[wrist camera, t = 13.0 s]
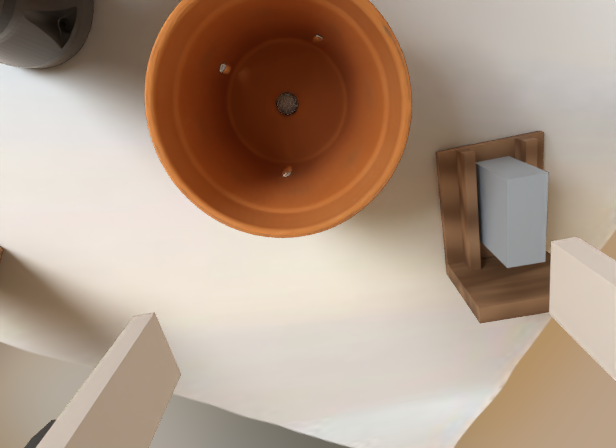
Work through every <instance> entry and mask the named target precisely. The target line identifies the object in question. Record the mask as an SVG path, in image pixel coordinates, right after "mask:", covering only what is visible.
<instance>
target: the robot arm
mask: <svg viewBox="0 0 616 448" xmlns="http://www.w3.org/2000/svg"><path fill="white" fill-rule="evenodd" d="M92 17H93V0H0V63H3V64H6V65H10V66H15V67H21V68H48V67H53V66H56V65H59V64H61V63H63V62H65V61H67V60H68V59H70V58H71V57H72V56H74V55H75V54H76V53H77V52H78V51H79V49H80V48H81V47H82V45H83V44H84V42H85V40H86V38H87V36H88V33H89V31H90V27H91V23H92ZM549 314H550V315H551V316H552V317H553V318H554V319H555V320H556V321H557V322H558V324H559V325H560V326H562V327H563V329H564V330H565V331H566V332H567V333H568V334H569V335H571V337H572V338H573V339H574V340H575V341H576V342H577V343H578V344H579V345H580V346H581V347H582V348H583V349H584V350H585V351H586V352H587V353H588V354H589V355H590V356H591V357H592V358H593V359H594V360H595V361H596V362H597V363H598V364H599V365H600V366H601V367H602V368H603V369H604V370H605V371H606V372H607V373H608V374H609V375H610V376H611V377H612V378H613V379H614V380H615V381H616V260H614V259H612V258H611V257H609V256H607V255H606V254H604V253H603V252H601V251H599V250H598V249H596V248H594V247H593V246H591V245H590V244H588V243H586V242H585V241H583V240H581V239H580V238H578V237H572V238H566V239H561V240H555V241H551V262H550V300H549ZM180 376H181V373H180V370H179V368H178V366H177V363H176V361H175V359H174V356H173V354H172V352H171V349H170V347H169V345H168V342H167V340H166V338H165V336H164V333H163V331H162V329H161V326H160V324H159V322H158V319H157V317H156V315H155V312H154V313H149V314H143V315H137V316H133V318H132V319H131V320H130V322H129V323H128V324H127V326H126V327H125V328H124V330H123V331H122V332H121V334H120V335H119V336H118V338H117V339H116V341H115V342H114V343H113V345H112V346H111V347H110V349H109V350H108V351H107V353H106V354H105V355H104V357H103V358H102V359H101V361H100V362H99V363H98V365H97V366H96V367H95V369H94V370H93V371H92V373H91V374H90V375H89V377H88V378H87V380H86V381H85V382H84V384H83V385H82V386H81V388H80V389H79V391H78V392H77V393H76V394H75V396H74V397H73V398H72V400H71V401H70V402H69V404H68V405H67V406H66V408H65V409H64V411H63V412H62V413H61V414H60V416H59V417H58V418H57V419H56V420H51V422H49V423H48V424H47V425H46V426H45V427H44V428H43V429H42V430H40V431H39V432H38V433H37V434H36V435H35V436H34V437H33V438H32V439H31V440H30V441H29V443H28V444H27V445H26V446H25V448H149V446H150V444H151V441H152V439H153V437H154V434H155V432H156V430H157V428H158V425H159V423H160V421H161V419H162V416H163V414H164V412H165V410H166V407H167V405H168V403H169V400H170V398H171V396H172V394H173V391H174V389H175V387H176V385H177V382H178V380H179V378H180Z"/></svg>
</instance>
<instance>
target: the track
mask: <svg viewBox="0 0 616 448" xmlns="http://www.w3.org/2000/svg"><path fill="white" fill-rule="evenodd" d="M543 147H544V132H542V131H535V132H531V133H526V134H521V135H516V136H511V137H506V138H501V139H496V140H492V141H487V142H482V143H477V144H472V145H467V146H462V147H457V148H453V149H448V150H443V151H438V152H436V159H437V170H438V181H439V193H440V204H441V215H442V227H443V238H444V249H445V260H446V272H447V275H448V276H449V278H450V279H451V281H452V282H453V284H454V285H455V287H456V288H457V290H458V291H459V293H460V294H461V296H462V297H463V299H464V300H465V302H466V303H467V305H468V306H469V308H470V309H471V311H472V312H473V314H474V315H475V317H476V318H477V320H478V321H479V322H480V323H485V322H491V321H497V320H504V319H510V318H516V317H522V316H528V315H534V314H540V313H546V312H549V300H550V262H551V254H549V253H548V252H547V251H546V257H545V262H541V263H535V264H529V265H523V266H517V267H511V268H507V267H506V266H505V265H504V264H503V263H502V262H501V261H500V260H499V259H498V258H497V257H496V256H495V255H494V254H493V253H492V252H491V251H490V250H489V249H488V248H487V247H486V246H485V245H484V244H483V243H481V242H480V240H479V220H478V200H477V180H476V162H480V161H485V160H490V159H496V158H501V157H506V156H510V157H512V158H515V159H517V160H520V161H522V162H525V163H527V164H529V165H532V166H534V167H537V168H539V169H542V170H543Z"/></svg>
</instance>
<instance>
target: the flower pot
mask: <svg viewBox="0 0 616 448" xmlns="http://www.w3.org/2000/svg"><path fill="white" fill-rule="evenodd" d="M316 35H319V36H321V37H323V38H318V37H316ZM223 63H225V65H226V68H225V70H224V71H223V72H222V73H221V72H219V69H220V66H221V64H223ZM282 93H292V94H293V95H295V97H296V98H297V100H298V108H297V110H296V111H295V112H294V113H293V114H291V115H284V114H282V113H281V112H280V111H279V110H278V108H277V106H276V101H277V98H278V97H279V96H280V95H281V94H282ZM145 110H146V117H147V123H148V128H149V132H150V136H151V139H152V142H153V145H154V148H155V150H156V153H157V155H158V157H159V159H160V161H161V163H162V165H163V167H164V168H165V170H166V172H167V173H168V175H169V176H170V178H171V179H172V181H173V182H174V183H175V185H176V186H177V187H178V188H179V189H180V191H181V192H182V193H183V194H184V195H185V196H186V197H187V198H188V199H189V200H190V201H191V202H192V203H193V204H195V205H196V206H197V207H198V208H199V209H201V210H202V211H203V212H205V213H206V214H207V215H209V216H211V217H212V218H214V219H215V220H217V221H219V222H221V223H223V224H225V225H227V226H229V227H231V228H234V229H237V230H239V231H242V232H246V233H250V234H253V235H259V236H265V237H275V238H290V237H300V236H306V235H311V234H315V233H319V232H322V231H325V230H328V229H330V228H333V227H335V226H337V225H339V224H341V223H343V222H344V221H346V220H348V219H350V218H351V217H352V216H354V215H355V214H357V213H358V212H359V211H361V210H362V209H363V208H364V207H366V206H367V205H368V204H369V203H370V202H371V201H372V200H373V199H374V198H375V197H376V196H377V195H378V194H379V192H380V191H381V190H382V189H383V187H384V186H385V185H386V184H387V182H388V181H389V179H390V178H391V176H392V175H393V173H394V171H395V170H396V168H397V166H398V163H399V161H400V159H401V157H402V154H403V152H404V149H405V146H406V143H407V139H408V135H409V130H410V123H411V113H412V96H411V85H410V78H409V73H408V69H407V65H406V61H405V58H404V55H403V52H402V50H401V48H400V45H399V43H398V41H397V39H396V37H395V35H394V33H393V31H392V30H391V28H390V26H389V25H388V23H387V22H386V20H385V19H384V18H383V16H382V15H381V14H380V12H379V11H378V10H377V9H376V8H375V6H374V5H373V4H372V3H371V2H370V1H369V0H182V1H181V2H180V3H179V4H178V5H177V6H176V7H175V9H174V10H173V11H172V12H171V14H170V15H169V17H168V18H167V20H166V21H165V23H164V25H163V27H162V28H161V30H160V32H159V34H158V36H157V39H156V41H155V43H154V46H153V48H152V51H151V55H150V58H149V62H148V66H147V72H146V79H145ZM285 172H291V174H290V175H289V176H287V177H283V174H284V173H285Z"/></svg>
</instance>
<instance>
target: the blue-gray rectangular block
mask: <svg viewBox="0 0 616 448" xmlns="http://www.w3.org/2000/svg"><path fill="white" fill-rule="evenodd" d="M548 175H549V172H546V171H544V170H542V169H539V168H537V167H534V166H532V165H529V164H527V163H525V162H522V161H520V160H517V159H515V158H512V157H510V156H506V157H501V158H496V159H490V160H485V161H480V162H476V180H477V200H478V220H479V240H480V242H481V243H483V244H484V245H485V246H486V247H487V248H488V249H489V250H490V251H491V252H492V253H493V254H494V255H495V256H496V257H497V258H498V259H499V260H500V261H501V262H502V263H503V264H504V265H505V266H506V267H507V268H511V267H517V266H523V265H529V264H535V263H541V262H545V257H546V230H547V203H548Z"/></svg>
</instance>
